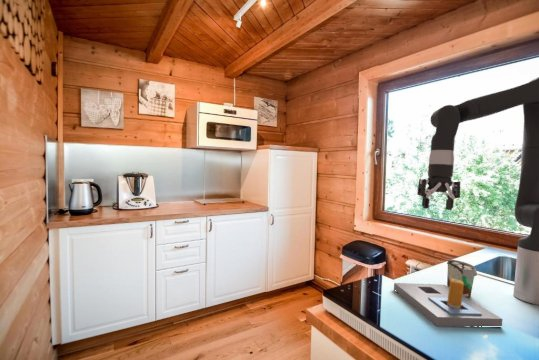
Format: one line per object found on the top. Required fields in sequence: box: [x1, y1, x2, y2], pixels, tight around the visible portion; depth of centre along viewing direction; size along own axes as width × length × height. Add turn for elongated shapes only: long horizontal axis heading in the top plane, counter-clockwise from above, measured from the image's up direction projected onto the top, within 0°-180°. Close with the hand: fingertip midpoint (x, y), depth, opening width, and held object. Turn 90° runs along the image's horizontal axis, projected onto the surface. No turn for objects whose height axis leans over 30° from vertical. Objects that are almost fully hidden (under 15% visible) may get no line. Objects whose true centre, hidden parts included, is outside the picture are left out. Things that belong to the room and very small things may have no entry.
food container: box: [446, 258, 478, 299], centre depth 94 cm, size 12×6×10 cm, turn 168°
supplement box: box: [447, 278, 464, 309], centre depth 79 cm, size 3×3×10 cm
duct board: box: [393, 282, 503, 328], centre depth 83 cm, size 18×22×3 cm
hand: (437, 209), depth 98 cm, fingers open, 8 cm apart
